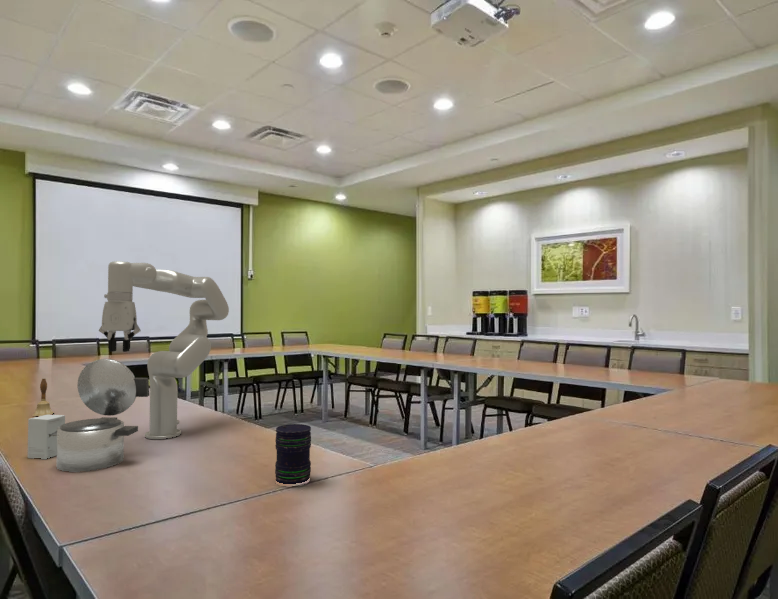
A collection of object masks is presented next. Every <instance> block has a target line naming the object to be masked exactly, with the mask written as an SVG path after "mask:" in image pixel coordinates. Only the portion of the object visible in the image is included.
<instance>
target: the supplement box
mask: <svg viewBox="0 0 778 599" xmlns="http://www.w3.org/2000/svg"><path fill="white" fill-rule="evenodd" d="M27 421H28V422H27V425H28V426H27V458H28V459H34V458H41V459H40V460H48V459H50V457H51V458H53V457H57V428H58V427H60V426H61V425H63V424H66V414H65V415H64V414H53V415H43V416H39V417H31V418H28V419H27ZM47 458H48V459H47Z"/></svg>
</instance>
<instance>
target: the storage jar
mask: <svg viewBox="0 0 778 599" xmlns="http://www.w3.org/2000/svg"><path fill="white" fill-rule="evenodd" d="M311 430H312V427H311V426H310V425H309V424H303V423H302V424H301V423H288V424H282V425H278V426H277V427H276V428H275V432H276V433H275V445H274V446H275V450H276V461H275V469H274V474H275V480H276V481H277V482H279V483H283V484H296V483H302V482H305V481H307V480H308V479H309V478H310V479H311V472H312V471H311V470H312V468H311V465H312V462H311V460H310V458H311V457H310V456H311V455H310V454H311V452H310V451H311V448H312V447H311V446H312V435H311V434H312V433H311Z"/></svg>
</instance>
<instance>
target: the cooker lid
mask: <svg viewBox="0 0 778 599" xmlns="http://www.w3.org/2000/svg"><path fill="white" fill-rule="evenodd" d="M76 384H77V392H78V395H79V398H80V400H81V401H82V403H83V404H84V405H85V406H86V407H87V408H88V409H89V410H91V411H92V412H94V413H96V414H98V415H102V416H107V417H111V416H117V415H120V414H122V413H124V412H125V411H127V410H128V409H129V408H131V407H132V405H133V404H134V402H135V401H136V399H137V398H148V397H150V379H149V377H135V375H134V373H133V371H131V369H130V368H129V367H128V366H126V365H125V364H124V363H123V362H120V361H118V360H117V359H116V360H115V359H111V358H101V359H97V360H94V361H92V362H90V363H89V364H87V365H86V366H84V368H82V370H81V371H80V373H79V375H78V379H77V383H76Z"/></svg>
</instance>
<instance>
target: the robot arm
mask: <svg viewBox="0 0 778 599" xmlns="http://www.w3.org/2000/svg"><path fill="white" fill-rule="evenodd" d="M107 269H108V270H107V273H108V274H107V292H106V294H104V297H103V298H104V299H107V301H104V304H103V308H102V315H101V325H100V327H99V329H98V332H99V333H101V334H103V335H104V336H105V337H106V340H108V350H109V352H110V353H113V352H116V351H117V339H116V334H117V332H123V337H124V339H123V340H122V352H123V353H124V352H126V353H127V352H130V349H131V340H132V339H133V338H134V337H135V336H136V335H137V334H138V333H141V328H140V327H139V325H138V323H137V322H138V321H137V320H138V318H137V317H138V316H137V309H136V308H137V307H136V305H135V304H136V303H135V302H134V301H133V299H134V298H133V296H134V295H133V293H134V290H133V288H134V287H135V288H141V289H146V290H150V291H151V290H152V291H157V292H160V293H161V292H162V293H169V294H172V295H173V294H174V295H177V296H182V297H186V298H190V299H191V298H192V299H196V300H195V301H193V302H192V303H191V305H190V307H189V324H188V325H187V326H186V327H185V328H183V330H182V331H181V332H180V333H179V334H178V335H176V336H175V337H174V339H172V341H171V342H170V344H169V347H168V350H159V351H156V352H154V353H151V355H150V356H149V357H148V360H147V365H146V366H147V373H148V376H149V377H148V380H149V426H148V427H149V428H148V430H149V431H146V432H145V433H144V438H145V437H146V439H150V440H165V439H166V438H168V439H172V437H173V438H176V436H177V437H178V436H181V435H182V430H181V429H179V428H178V425H180V420H178V392H179V391H178V390H179V389H178V383H177V380H176V378H177V379H182V378H186V377H188V376H190V375H192V374H193V372H194V371H196V370H197V368H198V367H199V366H201V364H202V363H203V362H204V361H205V360H206V359H207V357H208V356H209V355H210V353H211V347H212V344H211V341H210V339H209V338H208V337H207V336H208V333H209V332H208V330H209V329H208V324H207V321H222V320H223V321H224V320H225V319H226V318H227V317H228V316H229V312H230V311H229V310H230V307H229V304H228V302H227V300H226V298H225V296H224V294H223V292H222V291H221V289H220V287H219V285H218V284H217V283H216V281H215V280H214V279H213V278H212V277H210V276H192V275H188V274H185V273H182V272H178V271H174V270H168V269H156V267H155V266H154V265H153V264H151V263H148V262H128V261H117V260H116V261H115V260H114V261H111V262H109V263H108V267H107ZM197 299H198V300H197ZM180 434H181V435H180ZM166 440H167V439H166Z"/></svg>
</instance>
